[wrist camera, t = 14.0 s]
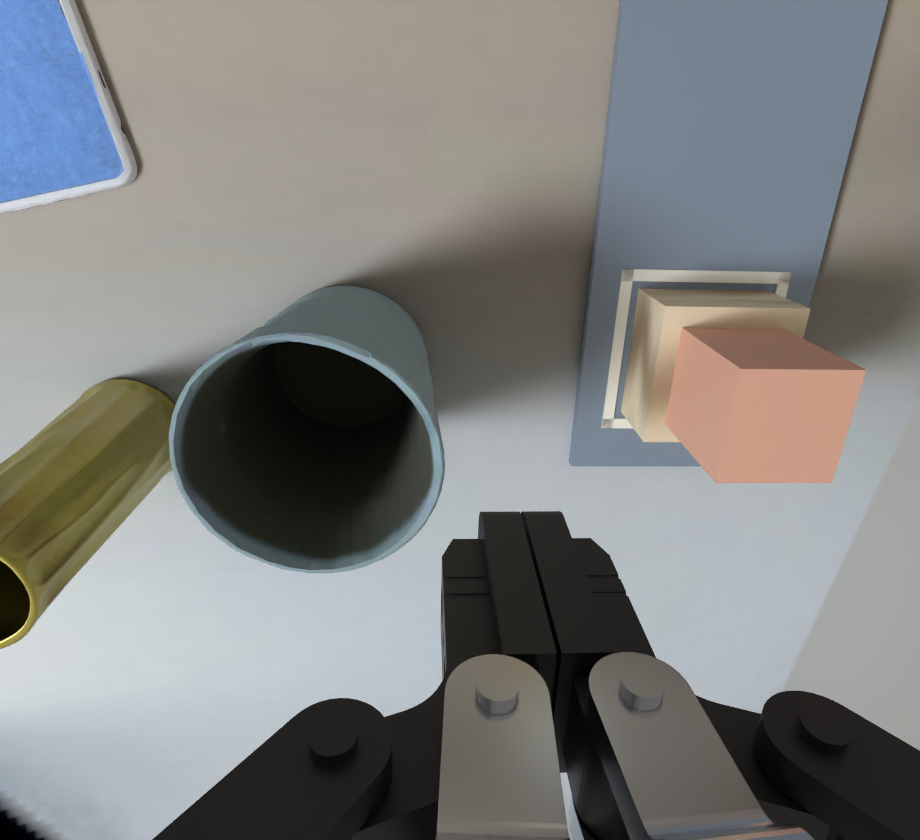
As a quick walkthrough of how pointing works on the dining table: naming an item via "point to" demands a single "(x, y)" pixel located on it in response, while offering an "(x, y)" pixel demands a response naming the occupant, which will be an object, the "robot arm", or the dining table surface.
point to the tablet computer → (55, 109)
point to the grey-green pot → (314, 435)
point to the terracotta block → (761, 405)
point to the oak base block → (660, 338)
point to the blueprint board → (713, 173)
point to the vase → (75, 492)
